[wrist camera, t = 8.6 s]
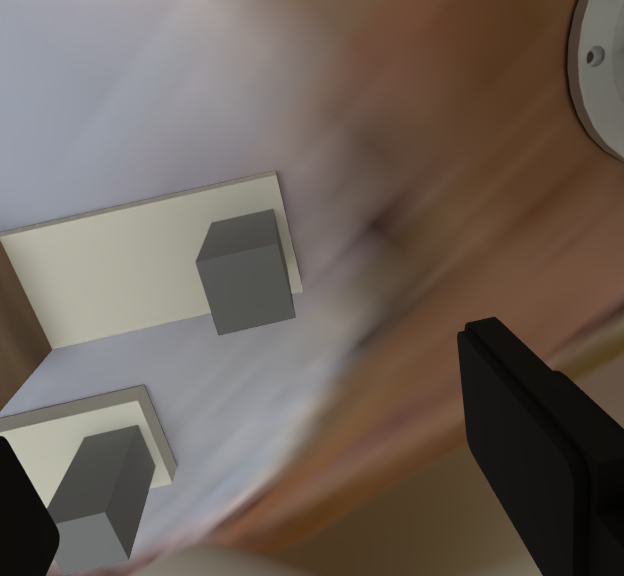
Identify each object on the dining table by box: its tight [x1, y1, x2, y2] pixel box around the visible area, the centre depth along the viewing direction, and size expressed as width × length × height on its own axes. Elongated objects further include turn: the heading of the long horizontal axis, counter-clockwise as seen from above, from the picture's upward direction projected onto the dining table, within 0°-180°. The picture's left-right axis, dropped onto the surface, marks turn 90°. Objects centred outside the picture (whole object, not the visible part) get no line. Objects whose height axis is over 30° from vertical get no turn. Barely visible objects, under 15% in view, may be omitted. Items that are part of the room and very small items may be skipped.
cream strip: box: [0, 171, 303, 349], centre depth 21 cm, size 20×6×8 cm, turn 102°
